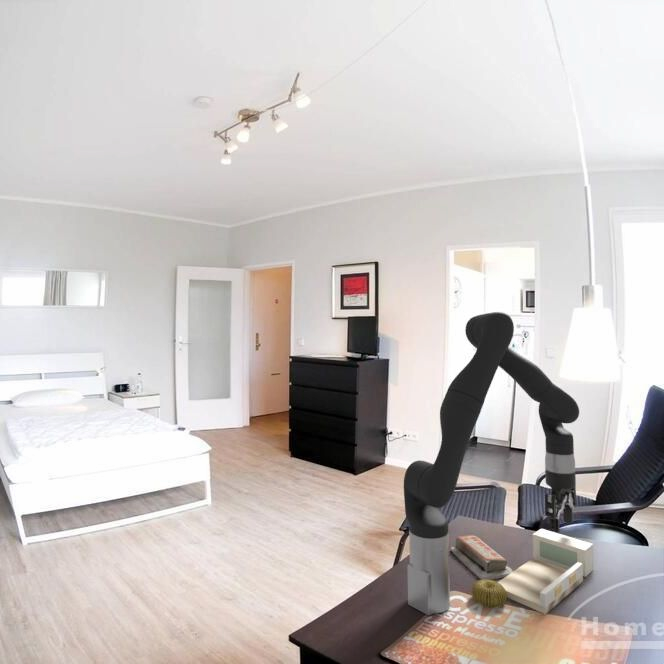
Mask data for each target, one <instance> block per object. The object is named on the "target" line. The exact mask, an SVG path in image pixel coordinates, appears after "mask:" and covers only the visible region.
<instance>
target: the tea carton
mask: <svg viewBox="0 0 664 664" xmlns="http://www.w3.org/2000/svg"><path fill="white" fill-rule="evenodd" d="M532 558H536V559H538V560H541V561H544V562H547V563H550V564H552V565H555V566H558V567H561V568H564V569H566V570H568V569H570V568H571V567H572V566H573V565H575V564H576V563H577V562H579V563H582V564H583V577H587V576H588V575H590V573H592V572H594V570H595V564H594V543H591V542H588V541H584V540H581V539H579V538H578V539H577V538H574V537H572V536H571V537H570V536H568V535H565V534H561V533H559V532H553V531H551V530H547V529H545V528H540V529H538V530H537V531H534V532H533V533H532Z"/></svg>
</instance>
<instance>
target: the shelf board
mask: <svg viewBox="0 0 664 664" xmlns="http://www.w3.org/2000/svg"><path fill="white" fill-rule="evenodd" d="M566 571H567V570H566V569H564V568H561V567H558V566H555V565H552V564H550V563H547V562H544V561H541V560H538V559H536V558H533V557H532V558H531V559H530V560H527V561H526V562H525V563H523V564H522V565H521V566H519V567H518V568H516V569H515V570H513V572H512V573H510V574H509V575H508V576H506V577H504V578H501V579H500V580H499V581H497V582H498V583H499V584H501V585H502V586H503V587H504V589H505V591H506V594H507V599H509V600H512V601H514V602H517V603H519V604H522V605H524V606H526V607H528V608H530V609H533V610H535V611H537V612H538V613H542V614H543V615H547V614H548V613H549V612H550V611H551V610H552V609H553V608H555V607H556V606H557V605H558V604H559V603H560V602H561V601H563V599H565V598H566V597H567V596H568V595H570V593H572V591H573V592H574V590H575V589H576V588H577V587H579V585H581V584H582V583H583V582H584V576H582V577H581V578H579V579H578V580H577V581H576V582H575V583H574V584H572V585H571V586H570V587H569V588H568V589H567V590H565V591H564V592H563V593H562V594H561V595H560V596H558V597H557V598H556V599H555V600H554V601H553V602H551V603H550V604H549V605H548V606H547V607H546V608H545V607H543V606H540V592H541V591H542V590H543V589H545V588H546V587H547V586H548V585H550V584H551V583H552V582H553V581H555V580H556V579H557V578H558V577H560V576H561V575H562V574H563V573H565V572H566Z"/></svg>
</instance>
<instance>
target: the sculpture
mask: <svg viewBox="0 0 664 664" xmlns="http://www.w3.org/2000/svg"><path fill="white" fill-rule="evenodd" d="M498 582H499V581H496V580H494V579H492V580H488V579H482V580H481V579H479V580H476V581H475V582H474V583H473V584H472V587H471V595H472V597H473V598H474V601H476V602H477V604H479V605H481V606H483V607H486V608H494V609H495V608H499V607H502V606H503V605H505V603H506V601H507V599H508V598H507V594H506V591H505V589H504V587H503V586H502V585H501V584H499V583H498Z"/></svg>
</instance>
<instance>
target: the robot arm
mask: <svg viewBox="0 0 664 664" xmlns="http://www.w3.org/2000/svg"><path fill="white" fill-rule="evenodd" d="M514 329H515V326H514V321H513V319H512V318H511V316H510V315H509V314H508V313H505V312H503V311H502V312H501V311H495V312H494V311H493V312H489V313H483V314H478V315H475V316H472V317H471V318H470V319H469V320H467V322H466V324H465V336H466V338H467V341H468V342H469V343H470V345H472V346H473V347H474V348H476V351H475V352H474V354H473V356H472V358H471V360H470V361H469V362H468V363H467V364H466V365H465V366H464V367H463V369H462V370H460V372H459V373H458V374H457V375H456V376H455V378H454V379H453V380H452V381H451V383H450V385H449V386H448V387H447V390H446V391H445V392H446V393H445V396H444V398H443V400H442V403H441V405H440V410H439V421H440V422H439V423H440V430H441V431H440V432H441V441H440V447H439V451H438V453H437V456H436V459H435V461H434V462H433V463H432V462H428V461H425V460H415V461H413V462H411V464H409V466H408V467H407V468H406V471H405V473H404V477H403V499H404V510H405V512H404V513H405V518H406V519H407V523H408V530H409V531H408V535H409V536H408V537H409V563H408V564H407V566H406V567H407V568H406V569H407V570H406V571H407V572H406V573H407V604H408V606H410V607H412V608H414V609H416V610H417V611H420V612H421V613H423V614H425V615H426V616H430V615H433V614H440V613H441V614H442V613H445V612H446V611H447V610H448V609H449V608H450V607H451V602H450V601H451V596H450V595H451V593H450V591H451V589H450V550H449V549H450V546H449V544H450V542H449V538H450V537H449V522H448V519H447V517H446V515H444V514H443V513H442V512H441V510H440V509H441V508H443V507H446V505H447V504H448V503H449V502H450V500H451V499H452V497H453V496H454V493H455V491H456V490H455V489H456V487H457V484H458V480H459V476H460V473H461V469H462V465H463V461H464V458H465V454H466V451H467V448H468V445H469V444H470V443H469V442H470V440H471V437H472V434H473V432H474V428H475V427H476V424H477V421H478V420H479V417H480V414H481V411H482V409H483V406H484V403H485V400H486V397H487V395H488V392H489V389H490V387H491V385H492V382H493V380H494V377H495V375H496V372H497V371H498V368H501V370H503V371H504V373H506V374H507V375H508V376H509V377H510V378H512V380H514V381H515V382H516V384H517V385H519V387H520V388H521V389H522V390H523V391H524V392H525V393H526V394H527V395H528V396H529V398H531V399H532V400H533V401H534V402H538V403H539V404H538V415H539V418H540V419H539V420H540V423H541V424H540V425H541V427H542V431H543V434H544V436H545V457H544V467H545V469H544V471H545V472H544V473H545V474H544V475H545V484H546V485H547V487H550V494H549V493H545V495H544V516H545V517H548V518H549V529H550V530H549V531H552V532H555V533H559V532H560V516H561V515H560V514H561V512H563V522H564V523H566V524H570V525H571V524H573V522H574V520H573V518H574V517H573V516H574V515H573V510H574V509H575V507H576V506H577V491H576V488H577V487H576V484H577V482H576V481H577V480H576V460H575V452H574V450H575V449H574V446H575V445H574V442H575V441H574V436H573V434H572V432H570V431H568V430H567V429H566V428H564V425H563V424H572V423H574V422H576V421H577V419H578V418H579V416H580V408H579V405H578V403H577V402H576V400H575V398H573V397H572V396H571V395H570V394H568V393H567V392H566V391H565V390H563V389H562V388H560V387H559V386H557V385H556V384H554V383H553V382H552V381H551V379H550V378H549V377H548V376H547V375H546V373H544V371H543V370H542V369H541V368H540V367H538V365H536V364H535V363H534V362H533V361H531V360H530V359H527V358H526V357H524V356H522V355H521V354H519V353H518V352H516V351H515V350H513V348H511V347H509V346H510V344H511V342H512V340H513V338H514V337H513V336H514V332H515V330H514ZM574 506H575V507H574Z"/></svg>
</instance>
